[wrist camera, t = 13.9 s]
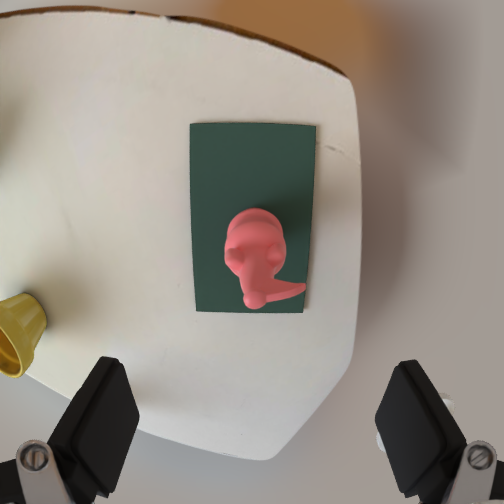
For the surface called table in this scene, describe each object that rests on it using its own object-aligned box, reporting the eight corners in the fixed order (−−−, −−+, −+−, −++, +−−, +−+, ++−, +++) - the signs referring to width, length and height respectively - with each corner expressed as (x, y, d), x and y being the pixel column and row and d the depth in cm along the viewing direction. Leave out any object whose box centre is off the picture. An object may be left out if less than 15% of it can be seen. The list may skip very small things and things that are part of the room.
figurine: (279, 197, 28) (307, 247, 14) (283, 247, 30) (310, 334, 16) (226, 203, 28) (202, 257, 14) (233, 253, 30) (218, 343, 16)
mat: (314, 126, 26) (315, 126, 26) (302, 310, 33) (303, 313, 33) (191, 124, 26) (189, 123, 26) (197, 308, 33) (196, 311, 32)
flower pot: (26, 268, 31) (-18, 299, 22) (68, 327, 34) (33, 369, 25) (0, 297, 33) (-36, 327, 24) (37, 348, 36) (7, 385, 27)
